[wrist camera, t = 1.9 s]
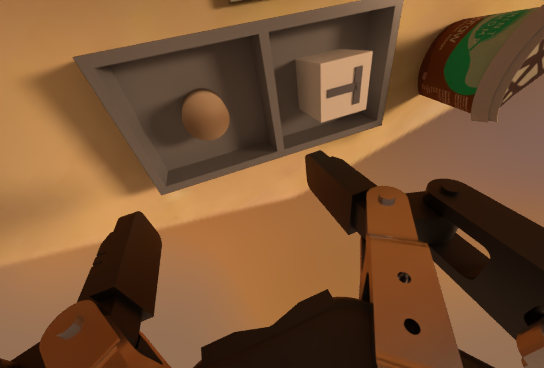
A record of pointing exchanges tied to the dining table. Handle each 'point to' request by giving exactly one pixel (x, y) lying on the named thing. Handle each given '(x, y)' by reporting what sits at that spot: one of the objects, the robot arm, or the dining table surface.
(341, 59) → the letter cube
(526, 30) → the food container
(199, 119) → the tan oval stone
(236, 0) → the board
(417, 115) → the dining table surface
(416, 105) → the dining table surface
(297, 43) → the organiser tray
